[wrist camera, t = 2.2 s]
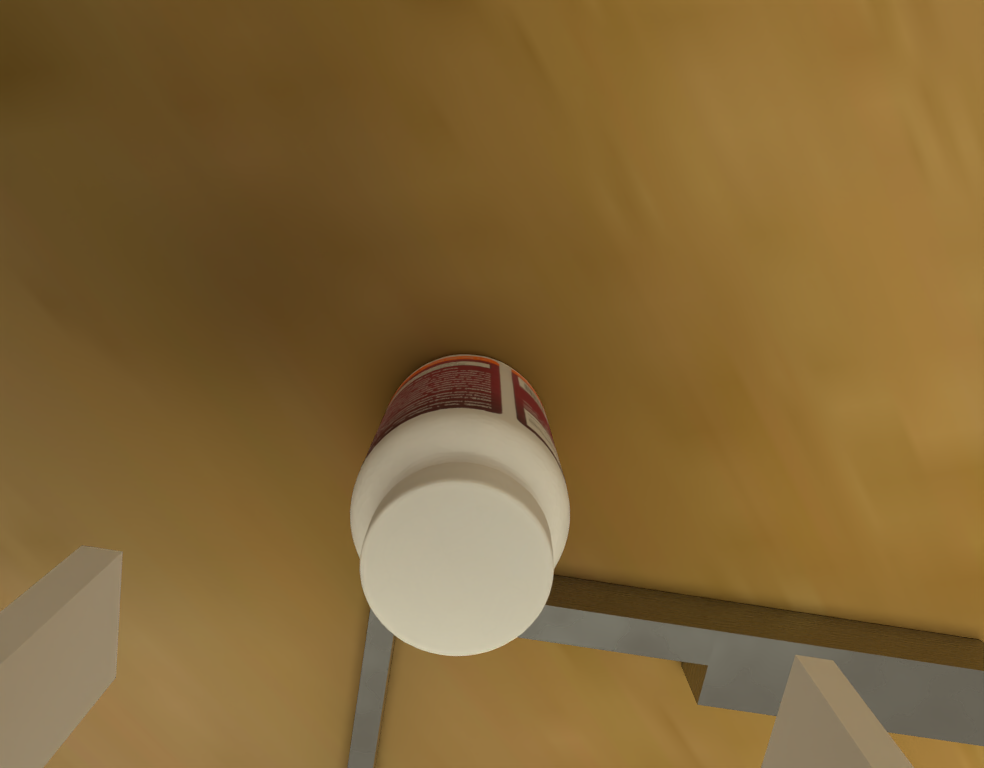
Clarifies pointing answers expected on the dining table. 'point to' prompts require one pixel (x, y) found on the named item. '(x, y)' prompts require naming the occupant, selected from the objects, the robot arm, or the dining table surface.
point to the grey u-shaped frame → (736, 658)
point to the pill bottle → (460, 508)
